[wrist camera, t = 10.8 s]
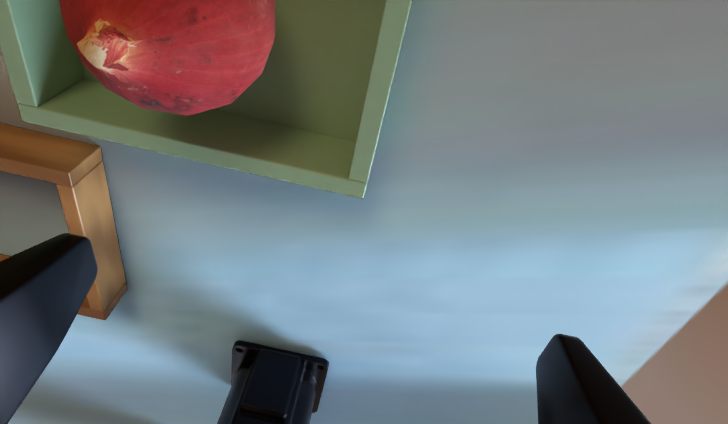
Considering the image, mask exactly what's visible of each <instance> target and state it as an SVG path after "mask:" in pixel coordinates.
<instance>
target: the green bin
mask: <svg viewBox="0 0 728 424" xmlns="http://www.w3.org/2000/svg"><path fill="white" fill-rule="evenodd" d="M411 4H412V0H275V37H274V43H273V46H272V48H271V51H270V53H269V56H268V59H267V61H266V64H265V67H264V69H263V72H262V74H261V75H260V76H259V77H258V78H257V79H256V80H255V81H254V82H253V83H252V84H251V85H250V86H249V87H248V88H247V89H246V90H245V91H244V92H243V93H242V94H241V95H240V96H239V97H238V98H237V99H235V100H234V101H233V102H232V103H231V104H228V105H225V106H221V107H218V108H214V109H211V110H208V111H204V112H201V113H197V114H193V115H189V116H185V115H179V114H173V113H167V112H161V111H155V110H149V109H143V108H141V107H139V106H137V105H135V104H134V103H132V102H130V101H128V100H126V99H124V98H123V97H121V96H119V95H117V94H115V93H113V92H112V91H110V90H108V89H106V88H105V87H104V86H103V85H102V84H101V83H100V81H99V80H98V79H97V78H96V77H95V76H94V75H93V74H92V73H91V72H90V71H89V70H88V69H87V68H86V66H85V65H84V64H83V63H82V61H81V59H80V57H79V55H78V54H77V52H76V50H75V48H74V47H73V45H72V43H71V42H70V40H69V39H68V37H67V35H66V30H65V26H64V21H63V17H62V13H61V8H60V4H59V0H0V50H1V53H2V56H3V59H4V63H5V66H6V69H7V73H8V76H9V79H10V83H11V86H12V89H13V93H14V96H15V99H16V102H17V103H18V104H17V105H18V108H19V112H20V115H21V118H22V120H23V121H24V122H29V123H33V124H37V125H42V126H46V127H50V128H55V129H59V130H64V131H68V132H72V133H77V134H81V135H85V136H90V137H94V138H99V139H103V140H107V141H112V142H116V143H120V144H125V145H129V146H133V147H138V148H142V149H147V150H151V151H155V152H160V153H164V154H168V155H173V156H177V157H182V158H186V159H190V160H195V161H199V162H203V163H208V164H212V165H217V166H221V167H225V168H230V169H234V170H238V171H243V172H247V173H251V174H256V175H260V176H265V177H269V178H273V179H278V180H282V181H286V182H291V183H295V184H300V185H304V186H308V187H313V188H317V189H321V190H326V191H330V192H334V193H339V194H343V195H348V196H352V197H356V198H361V199H363V198H364V196H365V192H366V188H367V183H368V180H369V175H370V171H371V167H372V163H373V159H374V155H375V151H376V147H377V143H378V139H379V135H380V131H381V127H382V122H383V118H384V114H385V110H386V106H387V102H388V98H389V94H390V90H391V86H392V82H393V78H394V73H395V69H396V65H397V61H398V57H399V53H400V49H401V45H402V41H403V37H404V33H405V29H406V25H407V20H408V16H409V12H410V8H411Z"/></svg>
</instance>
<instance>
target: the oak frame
mask: <svg viewBox="0 0 728 424" xmlns="http://www.w3.org/2000/svg"><path fill="white" fill-rule="evenodd" d="M102 159H103V157H102V152H101V147H100V146H97V145H92V144H88V143H84V142H79V141H75V140H71V139H66V138H62V137H57V136H53V135H49V134H44V133H40V132H35V131H31V130H27V129H22V128H18V127H14V126H9V125H5V124H0V171H4V172H9V173H13V174H18V175H22V176H26V177H31V178H35V179H40V180H44V181H49V182H53V183H57V184H56V186H57V190H58V193H59V197H60V200H61V204H62V208H63V211H64V215H65V218H66V222H67V226H68V229H69V233H70V234H75V235H80V236H85V237H87V238H88V239H89V240H90V241H91V244H92V248H93V252H94V256H95V259H96V263H97V268H98V271H97V276H96V279H95V281H94V283H93V285H92V287H91V289H90V290H89V292H88V294H87V296H86V298H85V300H84V302H83V304H82V305H81V307H80V309H79V311H78V313H77V314H79V315H83V316H88V317H92V318H97V319H102V320H106V319H107V318H108V316H109V315H110V313H111V312H112V311H113V309H114V308H115V306H116V305H117V304H118V302H119V301H120V299H121V298H122V297H123V295H124V294H125V292H126V291H127V285H126V282H125V281H126V279H125V274H124V269H123V264H122V258H121V253H120V248H119V243H118V238H117V232H116V227H115V222H114V217H113V211H112V206H111V201H110V196H109V190H108V185H107V180H106V175H105V169H104V164H103V161H102ZM9 257H11V256H6V255H2V254H0V261H2V260H4V259H6V258H9Z"/></svg>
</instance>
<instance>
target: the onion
mask: <svg viewBox="0 0 728 424" xmlns="http://www.w3.org/2000/svg"><path fill="white" fill-rule="evenodd" d="M59 4H60V8H61V13H62V17H63V21H64V26H65V30H66V35H67V37H68V39H69V40H70V42H71V43H72V45H73V47H74V48H75V50H76V52H77V54H78V55H79V57H80V59H81V61H82V63H83V64H84V65H85V66H86V68H87V69H88V70H89V71H90V72H91V73H92V74H93V75H94V76H95V77H96V78H97V79H98V80H99V81H100V83H101V84H102V85H103V86H104V87H105V88H106V89H108V90H110V91H112V92H113V93H115V94H117V95H119V96H121V97H123V98H124V99H126V100H128V101H130V102H132V103H134V104H135V105H137V106H139V107H141V108H143V109H149V110H155V111H161V112H167V113H173V114H179V115H185V116H189V115H193V114H197V113H201V112H204V111H208V110H211V109H214V108H218V107H221V106H225V105H228V104H231V103H232V102H233V101H234V100H235V99H237V98H238V97H239V96H240V95H241V94H242V93H243V92H244V91H245V90H246V89H247V88H248V87H249V86H250V85H251V84H252V83H253V82H254V81H255V80H256V79H257V78H258V77H259V76H260V75H261V74H262V72H263V69H264V67H265V64H266V61H267V59H268V56H269V53H270V51H271V48H272V46H273V43H274V37H275V0H59Z"/></svg>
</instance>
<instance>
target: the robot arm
mask: <svg viewBox="0 0 728 424" xmlns="http://www.w3.org/2000/svg"><path fill="white" fill-rule="evenodd" d="M97 271H98V268H97V263H96V259H95V256H94V252H93V248H92V244H91V241H90V240H89V239H88V238H87V237H85V236H80V235H75V234H70V233H64V234H61V235H58V236H56V237H54V238H51V239H49V240H47V241H45V242H42V243H40V244H38V245H36V246H33V247H31V248H29V249H27V250H24V251H22V252H20V253H18V254H15V255H13V256H11V257H9V258H6V259H4V260H2V261H0V424H8V422H9V421H10V419H11V418H12V416H13V415H14V413H15V412H16V410H17V409H18V407H19V406H20V404H21V403H22V401H23V400H24V399H25V397H26V396H27V394H28V393H29V391H30V390H31V388H32V387H33V385H34V384H35V382H36V381H37V379H38V378H39V377H40V375H41V374H42V372H43V371H44V369H45V368H46V366H47V365H48V363H49V362H50V360H51V359H52V357H53V356H54V354H55V353H56V351H57V349H58V348H59V346H60V344H61V342H62V341H63V339H64V337H65V335H66V333H67V332H68V330H69V328H70V326H71V324H72V322H73V320H74V318H75V317H76V315H77V313H78V311H79V309H80V307H81V305H82V304H83V302H84V300H85V298H86V296H87V294H88V292H89V290H90V289H91V287H92V285H93V283H94V281H95V279H96V276H97ZM328 366H329V362H328V361H327V360H326V359H323V358H319V357H314V356H309V355H305V354H300V353H296V352H291V351H286V350H282V349H277V348H273V347H268V346H264V345H259V344H254V343H250V342H245V341H236V342H235V343H234V346H233V348H232V381H231V389H230V391H229V394H228V397H227V399H226V402H225V404H224V407H223V410H222V412H221V415H220V418H219V420H218V423H217V424H309V423H310V418H311V414H312V413H314V412H316V411H317V409H318V405H319V401H320V397H321V394H322V390H323V386H324V382H325V378H326V374H327V370H328ZM536 379H537V402H538V424H651V423H650V422H649V421H648V420H647V418H646V417H645V416H644V415H643V413H642V412H641V411H640V410H639V409H638V407H637V406H636V405H635V404H634V403H633V402H632V401H631V399H630V398H629V397H628V396H627V394H626V393H625V392H624V391H623V390H622V388H621V387H620V386H619V385H618V384H617V382H616V381H615V380H614V379H613V378H612V376H611V375H610V374H609V373H608V372H607V370H606V369H605V368H604V367H603V366H602V364H601V363H600V362H599V361H598V360H597V359H596V357H595V356H594V355H593V354H592V353H591V351H590V350H589V349H588V348H587V347H586V345H585V344H584V343H583V342H582V341H581V340H580V339H579V338H577V337H573V336H568V335H564V334H556V335H555V336H553V338H552V339H551V340H550V342H549V343H548V345H547V346H546V348H545V349H544V350H543V352H542V353H541V355H540V356H539V358H538V361H537V365H536Z"/></svg>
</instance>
